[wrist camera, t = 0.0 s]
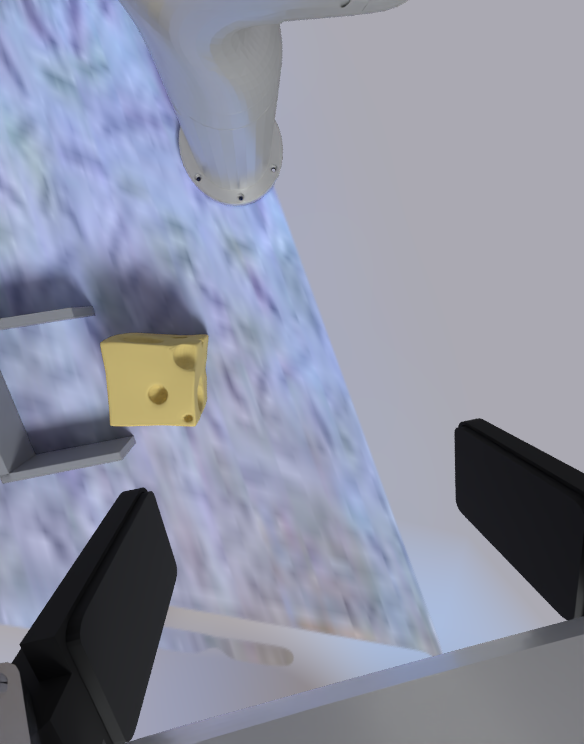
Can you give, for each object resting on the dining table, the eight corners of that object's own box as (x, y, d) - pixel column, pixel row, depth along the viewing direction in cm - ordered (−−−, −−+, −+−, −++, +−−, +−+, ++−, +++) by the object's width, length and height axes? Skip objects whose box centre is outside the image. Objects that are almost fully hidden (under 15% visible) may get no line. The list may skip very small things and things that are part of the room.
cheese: (209, 333, 44) (197, 343, 34) (209, 404, 46) (198, 432, 36) (132, 329, 42) (96, 338, 33) (136, 403, 45) (104, 432, 35)
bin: (-30, 325, 39) (-69, 329, 35) (92, 306, 41) (70, 307, 36) (29, 463, 45) (2, 483, 40) (135, 442, 46) (122, 460, 41)
